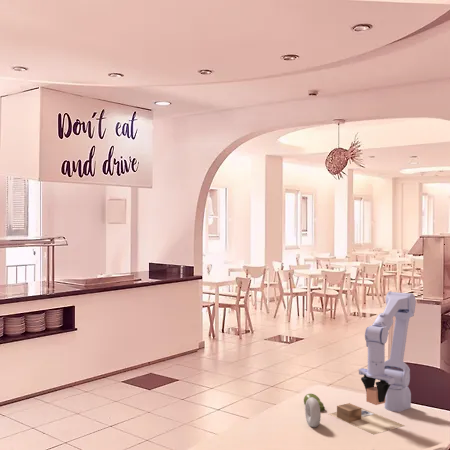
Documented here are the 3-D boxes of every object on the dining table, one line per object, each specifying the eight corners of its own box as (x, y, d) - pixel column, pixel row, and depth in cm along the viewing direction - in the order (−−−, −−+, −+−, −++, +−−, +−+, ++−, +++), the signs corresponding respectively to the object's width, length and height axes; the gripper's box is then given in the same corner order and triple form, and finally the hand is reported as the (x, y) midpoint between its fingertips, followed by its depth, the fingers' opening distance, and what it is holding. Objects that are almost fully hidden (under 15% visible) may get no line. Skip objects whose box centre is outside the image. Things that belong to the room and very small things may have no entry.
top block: (375, 399, 197) (375, 386, 197) (385, 402, 193) (385, 389, 193) (366, 401, 194) (366, 388, 194) (376, 405, 191) (376, 392, 191)
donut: (322, 432, 187) (322, 402, 187) (312, 432, 186) (312, 403, 186) (313, 421, 197) (313, 393, 197) (303, 421, 196) (303, 393, 196)
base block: (349, 414, 202) (349, 403, 202) (361, 419, 196) (361, 407, 196) (336, 417, 199) (336, 405, 198) (348, 422, 193) (348, 411, 193)
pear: (313, 390, 214) (329, 402, 205) (312, 403, 215) (327, 415, 206) (301, 392, 212) (316, 404, 203) (300, 405, 213) (315, 417, 204)
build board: (358, 408, 209) (358, 406, 209) (404, 427, 191) (404, 425, 191) (328, 416, 202) (328, 413, 202) (373, 436, 183) (373, 433, 183)
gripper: (352, 357, 198) (352, 395, 198) (384, 367, 185) (383, 407, 185) (366, 355, 201) (366, 392, 202) (398, 364, 189) (398, 404, 189)
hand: (375, 399), depth 194 cm, fingers closed on top block, 4 cm apart
